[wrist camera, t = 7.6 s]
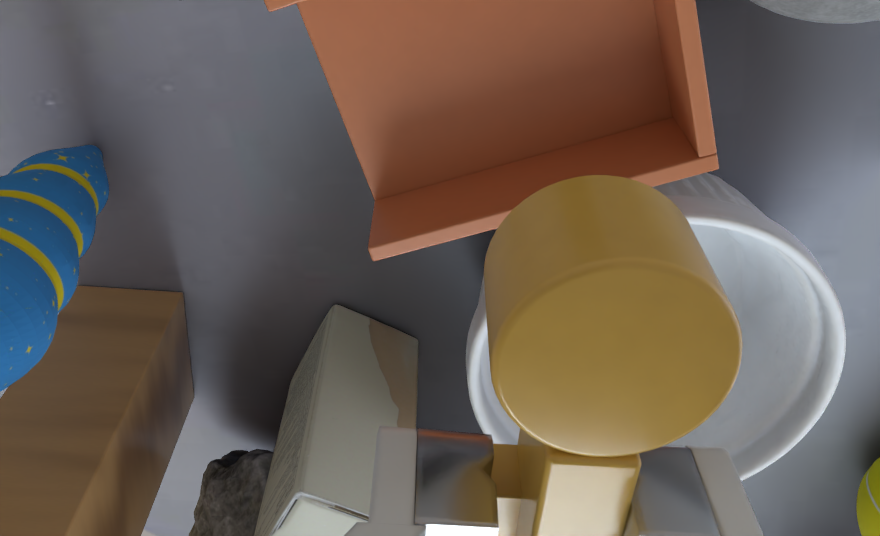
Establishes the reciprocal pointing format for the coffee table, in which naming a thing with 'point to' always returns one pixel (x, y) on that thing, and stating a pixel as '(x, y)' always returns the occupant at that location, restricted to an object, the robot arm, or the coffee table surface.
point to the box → (338, 425)
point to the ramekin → (762, 324)
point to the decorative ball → (825, 10)
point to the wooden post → (96, 416)
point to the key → (598, 348)
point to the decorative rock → (232, 494)
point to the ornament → (43, 247)
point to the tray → (508, 102)
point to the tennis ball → (869, 501)
